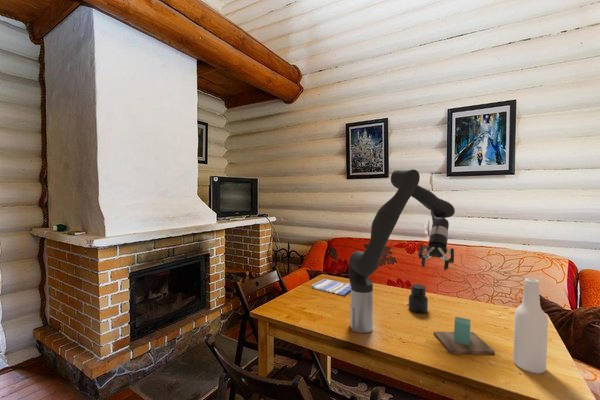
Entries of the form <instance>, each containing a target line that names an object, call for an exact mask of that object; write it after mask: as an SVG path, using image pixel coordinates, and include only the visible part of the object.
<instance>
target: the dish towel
mask: <svg viewBox="0 0 600 400" xmlns="http://www.w3.org/2000/svg"><path fill="white" fill-rule="evenodd" d="M313 288H314V290H316V289H317V290H316V291H320V290H321V291H320V292H324V291H326V292H325V293H328V292H330V293H329V294H332V293H335V294H334V295H336V294H339V295H338V296H340V295H343V296H342V297H346V296H348V295H349V294H351V293H350V292H351V284H350V282H349V283H348V282H340V281H337V280H333V279H328V278H323V279H322V280H320V281H318V282H315V283H312V284H311V289H313ZM348 293H349V294H348ZM347 294H348V295H347ZM345 295H346V296H345Z"/></svg>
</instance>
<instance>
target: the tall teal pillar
mask: <svg viewBox="0 0 600 400" xmlns="http://www.w3.org/2000/svg"><path fill="white" fill-rule="evenodd" d="M471 322H472V321H471V319H469V318H464V317H460V316H455V318H454V323H453V325H454V328H453V330H454V331H453V332H454V342H457V343H461V344H465V345H469V346H470V332H471Z"/></svg>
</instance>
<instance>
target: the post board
mask: <svg viewBox="0 0 600 400" xmlns="http://www.w3.org/2000/svg"><path fill="white" fill-rule="evenodd" d="M433 336H434V337H435V338H436V339H437V340H438V341H439V343H440V344H442V346H443V347H444V348H445V349H446V350H447V352H448V353H449V354H451V355H495V354H496V351H495V350H494V349H493V348H492V347H491V346H490V345H489V344H487V343H486V341H483V340H482V338H481V337H479V336H478V335H477V334H476V333H474V332H473V331H470V346H469V345H465V344H461V343H457V342H454V331H433Z"/></svg>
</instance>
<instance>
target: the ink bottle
mask: <svg viewBox="0 0 600 400" xmlns="http://www.w3.org/2000/svg"><path fill="white" fill-rule="evenodd" d="M426 291H427V287H426V286H425V285H423V284H418V283H414V284H411V285H410V294H409V295H408V309H409V311H411V312H413V313H416V314H426V313H428V312H429V297H427V295H426Z"/></svg>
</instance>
